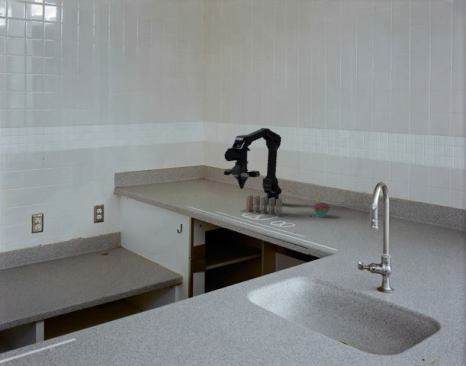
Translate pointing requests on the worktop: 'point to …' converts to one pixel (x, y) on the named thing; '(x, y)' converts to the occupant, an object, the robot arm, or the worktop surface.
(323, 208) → the cupcake
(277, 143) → the robot arm
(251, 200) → the domino
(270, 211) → the domino
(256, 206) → the domino
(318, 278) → the worktop surface
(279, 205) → the domino
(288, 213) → the mat
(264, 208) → the domino
